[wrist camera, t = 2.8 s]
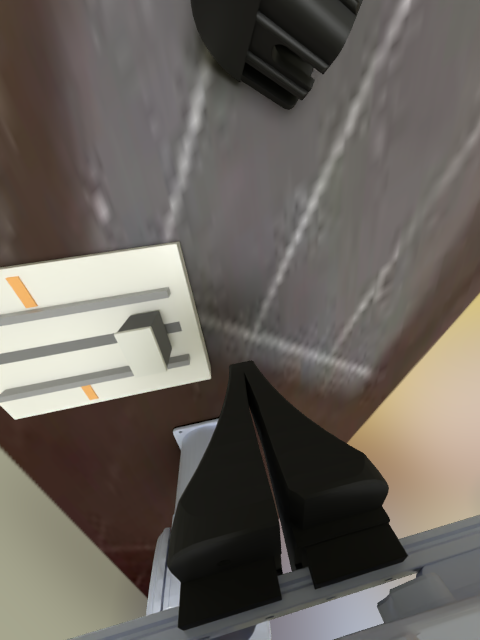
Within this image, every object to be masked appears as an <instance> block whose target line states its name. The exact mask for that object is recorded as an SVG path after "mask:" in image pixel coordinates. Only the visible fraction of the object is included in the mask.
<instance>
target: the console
mask: <svg viewBox="0 0 480 640" xmlns="http://www.w3.org/2000/svg"><path fill="white" fill-rule="evenodd" d="M153 311H159V312H160V315H161V318H162V321H163V323H164V326H165V329H166V332H167V335H168V338H169V341H170V344H171V346H172V351H171V355H170V359H169V362H168V366H167V369H168V370H167V372H163V373H158V374H153V375H148V376H143V377H138V378H135V376H134V374H133V372H132V370H131V368H130V366H129V364H128V362H127V360H126V358H125V356H124V354H123V352H122V350H121V348H120V346H119V344H118V342H117V340H116V338H115V336H114V334H115V332H118V330H119V329H120V328H121V327H122V325H123V324H124V323H125V321H126V320H127V319H128V318H129V316H130V315H136V314H142V313H147V312H153ZM207 379H211V366H210V362H209V358H208V354H207V350H206V346H205V342H204V338H203V334H202V330H201V326H200V322H199V318H198V314H197V310H196V306H195V302H194V298H193V294H192V290H191V286H190V282H189V278H188V274H187V270H186V266H185V262H184V258H183V254H182V250H181V246H180V242H179V241H178V242H171V243H165V244H158V245H151V246H144V247H137V248H130V249H124V250H117V251H110V252H103V253H96V254H89V255H83V256H76V257H69V258H62V259H55V260H48V261H41V262H35V263H28V264H21V265H14V266H7V267H0V406H2V407H3V408H4V409H5V410H6V411H7V412H8V413H9V414H10V415H11V416H12V417H13V418H14V419H20V418H25V417H30V416H34V415H39V414H44V413H49V412H54V411H58V410H63V409H68V408H73V407H78V406H82V405H87V404H92V403H97V402H102V401H106V400H111V399H116V398H121V397H126V396H130V395H135V394H140V393H145V392H150V391H154V390H159V389H164V388H169V387H174V386H178V385H183V384H188V383H193V382H198V381H202V380H207Z"/></svg>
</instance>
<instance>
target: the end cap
mask: <svg viewBox="0 0 480 640" xmlns="http://www.w3.org/2000/svg"><path fill="white" fill-rule="evenodd" d="M362 1H363V0H191V7H192V13H193V17H194V20H195V24H196V27H197V29H198V32H199V34H200V36H201V38H202V40H203V42H204V44H205V45H206V47H207V49H208V50H209V52H210V53H211V55H212V56H213V57H214V59H215V60H216V61H217V62H218V63H219V64H220V65H221V67H222V68H223V69H224V70H225V71H227V72H228V73H229V74H230V75H231V76H232V77H234V78H235V79H236V80H238V81H239V82H240V80H242V81H243V82H244V83H246V84H248V85H249V86H251V87H252V88H254V89H255V90H257V91H258V92H260V93H261V94H263V95H265V96H266V97H268V98H269V99H271V100H272V101H274V102H275V103H277V104H278V105H280V106H282V107H283V108H285V109H291V108H293V107H294V105H295V104H296V103H297V101H298V99H300V100H303V99H304V97H305V96H306V95H307V94H308V93H309V91H310V90H311V89H312V86H313V83H314V81H315V80H314V79H313V78H311V77H310V76H311V74H312V71H313V68H315V69H316V70H318V71H319V72H320V73H322V74H324V73H325V71H326V70H327V69H328V68H329V66H330V65H331V64H332V63H333V61H334V60H335V59H336V57H337V56H338V54H339V53H340V51H341V50H342V48H343V46H344V44H345V42H346V40H347V38H348V36H349V33H350V31H351V29H352V26H353V24H354V21H355V19H356V16H357V13H358V11H359V8H360V6H361V3H362Z"/></svg>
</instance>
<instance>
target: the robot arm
mask: <svg viewBox="0 0 480 640" xmlns="http://www.w3.org/2000/svg"><path fill="white" fill-rule="evenodd" d="M249 407H250V410H251V413H252V416H253V419H254V422H255V425H256V428H257V431H258V434H259V437H260V440H261V443H262V447H263V450H264V454H265V458H266V462H267V466H268V471H269V475H270V479H271V483H272V487H273V492H274V496H275V500H276V504H277V509H278V513H279V517H280V521H281V526H282V530H283V535H284V538H285V543H286V548H287V552H288V556H289V560H290V565H291V570H292V572H289V573H286V574H283V572H282V565H281V540H280V526H279V520H278V516H277V512H276V508H275V504H274V500H273V496H272V492H271V489H270V485H269V482H268V478H267V475H266V471H265V467H264V464H263V460H262V456H261V453H260V449H259V445H258V442H257V438H256V434H255V430H254V426H253V422H252V418H251V414H250V410H249ZM173 434H174V437H175V439H176V441H177V443H178V445H179V447H180V450H181V457H180V466H179V476H178V486H177V495H176V505H175V514H174V515H173V520H172V530H171V532H170V528H165V529H164V531H163V533H162V534H161V535H160V536H159V538H158V540H157V545H156V550H155V555H154V561H153V567H152V574H151V581H150V588H149V595H148V603H147V612H146V616H143V617H141V618H137V619H134V620H130V621H127V622H124V623H120V624H117V625H114V626H110V627H107V628H104V629H100V630H97V631H94V632H90V633H87V634H84V635H81V636H78V637H75V638H71V639H67V640H271V629H270V620H272V619H275V618H278V617H281V616H284V615H287V614H290V613H293V612H297V611H299V610H303V609H306V608H309V607H312V606H315V605H318V604H321V603H325V602H328V601H331V600H334V599H337V598H340V597H343V596H346V595H349V594H353V593H356V592H359V591H362V590H365V589H368V588H371V587H374V586H377V585H381V584H384V583H386V582H390V581H393V580H396V579H399V578H402V577H405V576H408V575H412V574H415V573H417V575H416V578H415V579H413V580H411V581H408V582H406V583H404V584H402V585H400V586H397V587H395V588H393V589H390V594H389V595H388V596H387V597H386V598H384V599H383V600H381V601H380V602H378V605H377V608H378V610H379V612H380V614H381V617H382V619H383V621H384V624H381V625H377V626H374V627H371V628H368V629H365V630H361V631H358V632H355V633H352V634H349V635H346V636H343V637H340V638H337V639H334V640H480V515H477V516H474V517H471V518H467V519H464V520H461V521H458V522H454V523H451V524H448V525H444V526H441V527H438V528H434V529H431V530H428V531H425V532H422V533H418V534H415V535H412V536H408V537H405V538H401V539H398V538H397V536H396V535H395V533H394V531H393V530H392V528H391V526H390V525H389V522H390V519H389V517H388V515H387V513H386V512H385V510H384V509H383V507H382V504H383V502H384V500H385V498H386V496H387V494H388V489H389V487H388V485H387V482H386V481H385V479H384V478H383V477H382V475H381V474H380V472H379V471H378V470H377V469H376V467H375V466H374V465H373V464H372V463H371V461H370V460H369V459H368V458H367V456H366V455H365V454H364V453H362V452H360V451H359V450H357V449H355V448H353V447H352V446H350V445H348V444H347V443H345V442H343V441H342V440H340V439H338V438H337V437H335V436H334V435H332V434H330V433H329V432H327V431H326V430H324V429H323V428H321V427H320V426H319V425H317V424H316V423H314V422H313V421H312V420H310V419H309V418H307V417H306V416H305V415H304V414H302V413H301V412H300V411H299V410H297V409H296V408H295V407H294V406H293V405H291V404H290V403H289V402H288V401H287V400H286V399H285V398H284V397H283V396H282V395H281V394H280V393H279V392H278V391H277V390H276V389H275V388H274V387H273V386H272V385H271V384H270V383H269V382H268V380H267V379H266V378H265V377H264V376H263V375H262V373H261V372H260V371H259V369H258V368H257V367H256V365H255V363H254V362H253V361H247V362H242V363H237V364H232V365H230V366H229V381H228V387H227V391H226V396H225V400H224V403H223V407H222V410H221V414H220V417H219V419H214V420H210V421H205V422H201V423H197V424H192V425H188V426H183V427H179V428H175V429H174V430H173Z"/></svg>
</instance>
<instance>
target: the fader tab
mask: <svg viewBox="0 0 480 640" xmlns="http://www.w3.org/2000/svg"><path fill="white" fill-rule="evenodd" d="M114 336H115V338H116V340H117V342H118V344H119V346H120V348H121V350H122V352H123V354H124V356H125V358H126V360H127V362H128V364H129V366H130V368H131V370H132V372H133V374H134V376H135V378H138V377H143V376H148V375H153V374H158V373H163V372H167V370H168V369H167V366H168V362H169V359H170V355H171V351H172V346H171V344H170V341H169V338H168V335H167V332H166V329H165V326H164V323H163V321H162V318H161V315H160V312H159V311H153V312H147V313H142V314H136V315H130V316H129V318H128V319H127V320H126V321H125V323H124V324H123V325H122V327H121V328H120V329H119V330H118V332H115V334H114Z"/></svg>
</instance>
